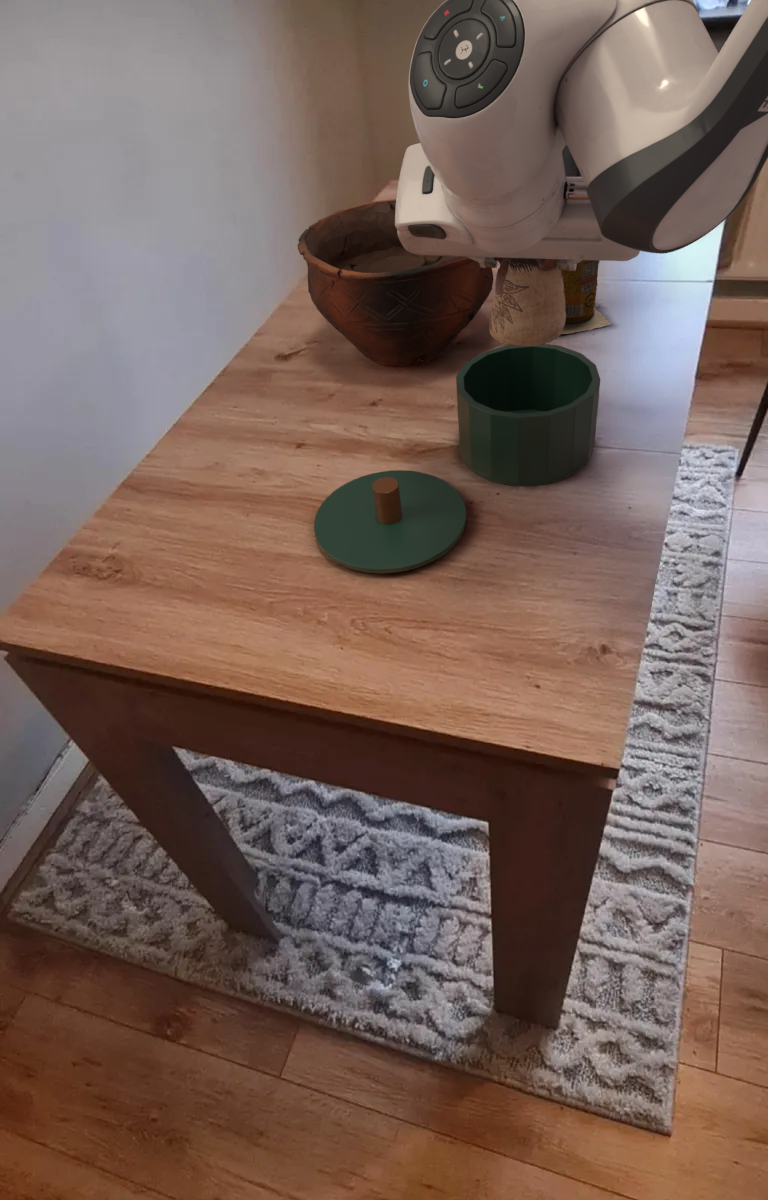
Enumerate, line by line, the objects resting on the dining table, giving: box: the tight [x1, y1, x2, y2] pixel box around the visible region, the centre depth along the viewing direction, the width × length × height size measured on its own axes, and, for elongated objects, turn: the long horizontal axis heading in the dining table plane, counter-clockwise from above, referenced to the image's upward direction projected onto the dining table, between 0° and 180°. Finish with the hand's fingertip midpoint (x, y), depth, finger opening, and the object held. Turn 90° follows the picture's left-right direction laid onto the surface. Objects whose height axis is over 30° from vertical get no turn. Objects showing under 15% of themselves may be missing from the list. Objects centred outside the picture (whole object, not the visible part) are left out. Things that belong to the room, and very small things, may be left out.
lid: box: [313, 469, 468, 574], centre depth 80 cm, size 16×16×5 cm
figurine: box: [489, 257, 566, 346], centre depth 73 cm, size 7×7×12 cm
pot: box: [455, 343, 601, 487], centre depth 86 cm, size 15×15×8 cm
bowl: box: [297, 198, 494, 366], centre depth 103 cm, size 25×25×15 cm
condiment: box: [558, 259, 612, 335], centre depth 104 cm, size 7×8×12 cm
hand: (528, 261), depth 74 cm, fingers closed on figurine, 6 cm apart
